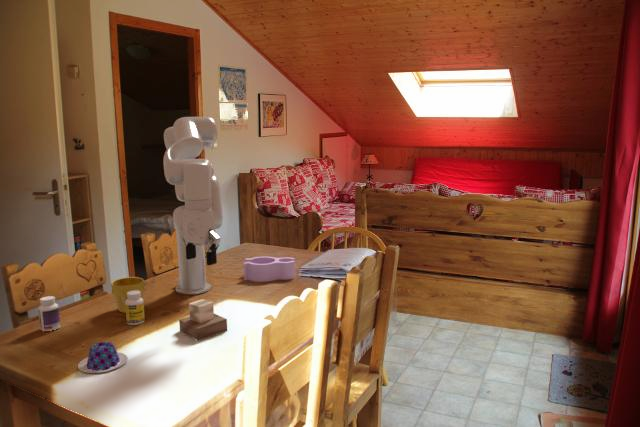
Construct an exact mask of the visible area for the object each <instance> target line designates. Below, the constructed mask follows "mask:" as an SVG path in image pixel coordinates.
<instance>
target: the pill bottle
mask: <svg viewBox="0 0 640 427" xmlns="http://www.w3.org/2000/svg"><path fill="white" fill-rule="evenodd" d="M39 301H40V305H39V306H38V309H37V310H38V318H39V326H40V331H41V330H42V332H44V331H50V332H53V331H52V330H54V331H57V330H59V329H60V328H61V319H60V311H59V310H60V308H59V304H58V303H56V297H55V296H52V295H48V296H47V295H46V296H44V297H41V298H40V299H39ZM58 328H59V329H58ZM56 329H57V330H56Z"/></svg>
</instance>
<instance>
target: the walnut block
mask: <svg viewBox="0 0 640 427" xmlns="http://www.w3.org/2000/svg"><path fill="white" fill-rule="evenodd" d="M178 320H179V332H181V333H183V334H184V335H187V336H188V337H191V338H192V339H195V340H196V341H202V340H204V339H208V338H210V337H213V336H216V335H218V334H221V333H224V332H227V331H228V320H227V318H226V317H223V316H222V315H221V316H220V315H218V314H217V313H214V318H213V319H211V320H208V321H205V322H203V323H198V322H195V321H193V320H190V316H186V317H183V318H181V319H178Z"/></svg>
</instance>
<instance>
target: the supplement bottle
mask: <svg viewBox="0 0 640 427" xmlns="http://www.w3.org/2000/svg"><path fill="white" fill-rule="evenodd" d="M140 296H141V292H140V291H137V290H135V291H129V292H127V298H128V299H127V300H126V301H125V307H126V313H125V318H126V324H127V325H129V326H137V325H140V324H143V323H145V304H144V301H145V300H144V298H142V296H141V297H140Z"/></svg>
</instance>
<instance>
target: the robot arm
mask: <svg viewBox="0 0 640 427" xmlns="http://www.w3.org/2000/svg"><path fill="white" fill-rule="evenodd" d="M218 132H219V131H218V126H217V123H216V121H215V119H214V118H212V117H210V116H182V117H180V118H178V119H176V120H175V121H174V123H173V126H169V127H167V128H166V129H165V130H164V132H163V141H164V146H165V148H166V150H165V152H164V155H163V171H164V172H163V173H164V177H165V180H166V182H167V183H169V184H170V185H172V186H173V185H174V190H175V196H176V199H177V200H178V201H180V202H184V205H181V206H178V207H177V208H175V209H174V210H173V213H172V219H173V224H174V229H175V234H176V235H175V236H176V243H177V256H178V260H177V261H178V273H179V275H178V277H175V281H177V282H178V285H177V286H176V287H175V291H176V293H177V294H180V295H192V296H193V295H199V294H203V293H207V292H208V291H210V290H211V288H212V286H211V284H210V283H209V282H207V272H206V266H212V265H215V264H216V265H217V262H218V261H217V251H218V250H219V249H218V248H219V247H220V243H221V237H220V236H219V235H218V234H217V233H216V230H219V229H220V228H221V227H222V226H223V222H224V219H223V218H224V217H223V206H222V197H221V194H222V193H221V185H220V182H219V179H218V178H217V176H215V175H214V174H215V173H214V165H213V164H212V163H211V161H210V160H209V159H206V158H197V157H199V156H200V154H202V152H203V150H209V149H210V150H211V148H213V147H214V145H215V143H216V141H217V139H218ZM205 248H206V252H205ZM205 254H206V255H205Z"/></svg>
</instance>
